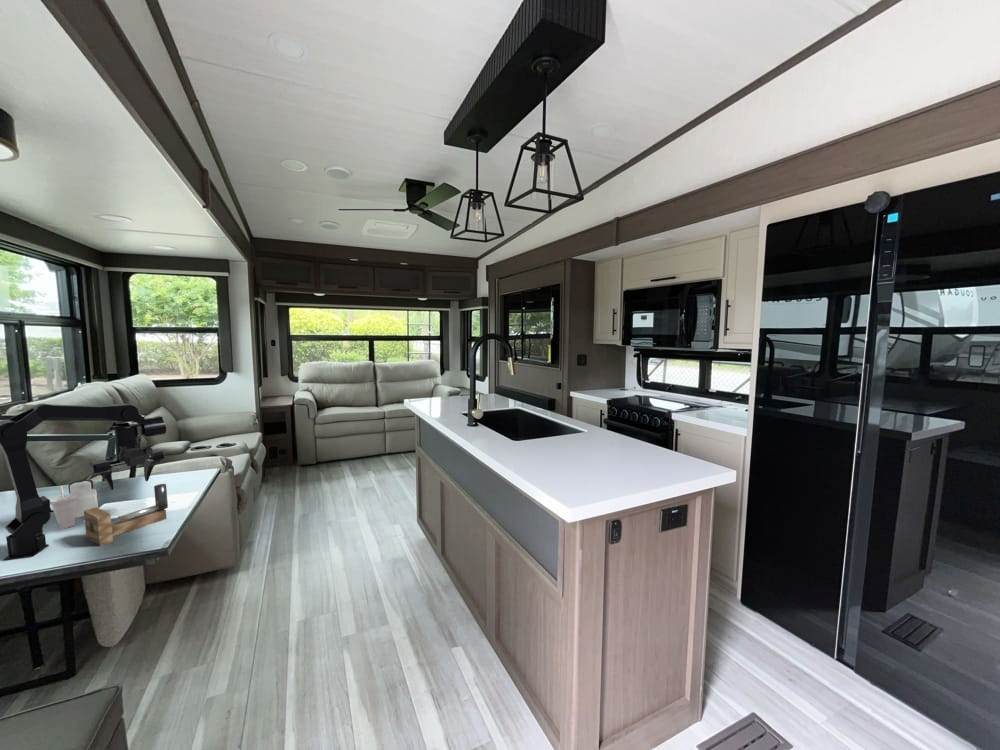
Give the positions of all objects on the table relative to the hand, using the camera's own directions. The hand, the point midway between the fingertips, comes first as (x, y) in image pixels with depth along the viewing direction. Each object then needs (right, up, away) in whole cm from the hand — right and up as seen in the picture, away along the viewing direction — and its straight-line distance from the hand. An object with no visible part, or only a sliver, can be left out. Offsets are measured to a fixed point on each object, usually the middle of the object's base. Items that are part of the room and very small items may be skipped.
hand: (129, 485), depth 137 cm
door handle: (+7, -9, -2) cm, 12 cm away
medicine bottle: (-22, -12, +7) cm, 26 cm away
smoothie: (-19, -13, -3) cm, 23 cm away
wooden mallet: (+5, -13, -5) cm, 15 cm away
